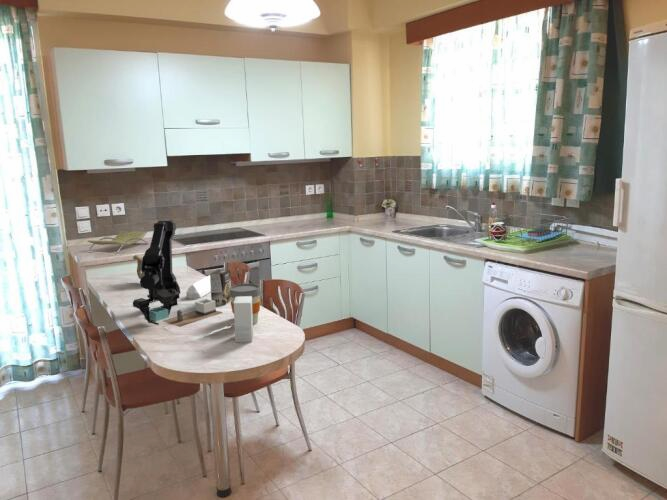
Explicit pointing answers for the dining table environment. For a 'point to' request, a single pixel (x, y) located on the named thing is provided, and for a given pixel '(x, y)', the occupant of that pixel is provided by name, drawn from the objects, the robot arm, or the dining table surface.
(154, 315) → the teal sleeve
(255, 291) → the reusable coffee cup
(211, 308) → the grey sleeve
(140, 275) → the tankard
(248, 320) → the skincare box
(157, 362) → the dining table surface
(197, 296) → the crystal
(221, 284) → the coffee box
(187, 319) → the pin board
